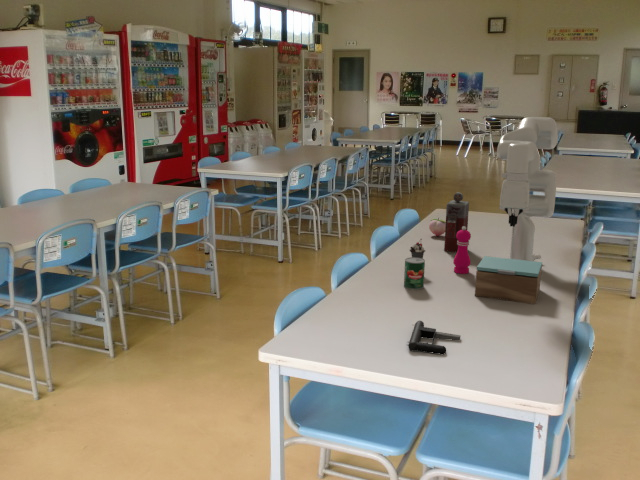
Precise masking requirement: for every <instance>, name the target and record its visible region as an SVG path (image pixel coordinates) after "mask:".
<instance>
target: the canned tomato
mask: <svg viewBox="0 0 640 480" xmlns="http://www.w3.org/2000/svg"><path fill="white" fill-rule="evenodd" d="M425 262H426V260H425V258H423V259H422V258H417V257H412V256H410V257H406V258H405V259H404V277H403V287H404V288H405V289H407V290H412V291H413V290H416V291H417V290H418V291H419V290H421V289H424V286H425V284H424V283H425V267H426V263H425Z"/></svg>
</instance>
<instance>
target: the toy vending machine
mask: <svg viewBox="0 0 640 480" xmlns="http://www.w3.org/2000/svg"><path fill="white" fill-rule="evenodd" d="M463 199H464V195H463V193H462V192H458V191H457V192H455V193H454V195H453V199H452V200H450V201H449V202H447V203H446V207H445V208H446V209H445V222H446V226H445V233H444V248H443V251H444V252H449V253H457V251H458V244H457V241H458V239H457V238H456V235H457V232H458V231H460V230H462V227H463V226H465V227H466V230H467V231H468V225H469V211H470V210H469V207H470V202H469V201H464V200H463Z"/></svg>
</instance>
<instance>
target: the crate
mask: <svg viewBox="0 0 640 480" xmlns="http://www.w3.org/2000/svg"><path fill="white" fill-rule="evenodd" d="M542 269H543V266H542V267H541V269H540V272H539V275H538V277H533V276H525V275H516V274H515V275H508V274H500V273H498V272H490V271H482V270H477V269H476V271H475V272H476V275H475V288H474V289H475V290H474V297H480V298H487V299H494V300H501V301H508V302H509V301H510V302H519V303H525V304H534V305H536V302H537V300H538V296H539V293H540V290H541V282H542V281H541V280H542Z"/></svg>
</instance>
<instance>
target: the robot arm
mask: <svg viewBox="0 0 640 480" xmlns="http://www.w3.org/2000/svg"><path fill="white" fill-rule="evenodd" d="M557 125H558V124H557V122H556V121H555V119H554V118H552V117H547V116H546V117H544V116H542V117H540V116H529V117H524V118H523V119H521V120H520V122H519V123H518V126H517V128H516V129H515V130H512V131H509V132H507V133H505V134H503V135H502V136H501V138H500V139H499V142H498V143H497V144H498V145H497V150H496V154H497V157H498V159H500V160H501V161H506V172H504V173H501V177H502V178H504V180H503V181H502V185H501V190H500V197H499V206H498V209H499V210H501V211H505V213H506V214H507V215H508V225H509V227H511V238H510V239H511V241H510V250H509V251H510V253H509V259H516V260H526V261H536V260H541V259H542V255H540V254H534V243H535V233H536V226H535V223H534V222H533V220H532V219H531V218H533V217H534V218H543V219H545V218H547V219H548V218H551V217H552V216H553V215H554V212H555V205H556V195H557V194H556V193H557V182H558V180H557V174H556V172H555V171H553V170H549V169H540V167H541V166H540V165H541V164H540V163H541V156H540V154H539V153H538V149H539V150H552V149H554V148H555V147H556V146H557V144H558V139H559V136H558V134H559V133H558V126H557ZM530 192H538V193H543V194H544V195H540V194H531V193H530Z"/></svg>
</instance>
